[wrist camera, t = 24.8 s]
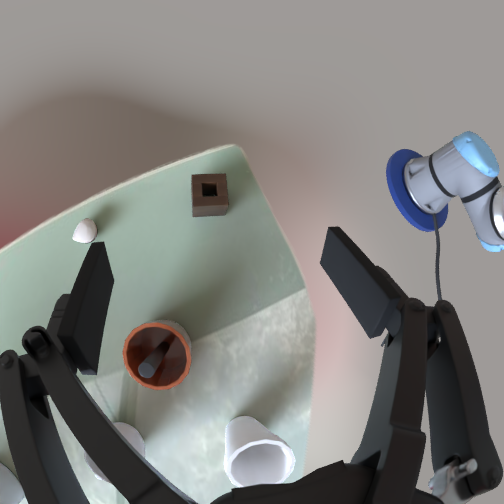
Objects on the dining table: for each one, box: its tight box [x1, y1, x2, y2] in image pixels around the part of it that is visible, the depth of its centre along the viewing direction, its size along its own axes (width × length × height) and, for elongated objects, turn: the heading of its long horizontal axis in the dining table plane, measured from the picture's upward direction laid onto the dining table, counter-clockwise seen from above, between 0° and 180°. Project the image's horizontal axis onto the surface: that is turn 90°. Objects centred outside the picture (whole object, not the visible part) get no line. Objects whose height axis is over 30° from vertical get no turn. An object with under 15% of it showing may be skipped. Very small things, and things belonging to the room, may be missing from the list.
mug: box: [84, 422, 145, 483], centre depth 30 cm, size 13×9×10 cm
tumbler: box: [123, 319, 192, 390], centre depth 35 cm, size 9×9×11 cm
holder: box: [191, 174, 229, 217], centre depth 45 cm, size 6×6×5 cm
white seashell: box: [72, 218, 97, 243], centre depth 40 cm, size 4×5×2 cm
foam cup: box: [224, 416, 295, 487], centre depth 34 cm, size 10×9×13 cm
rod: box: [138, 341, 170, 378], centre depth 32 cm, size 2×2×18 cm
